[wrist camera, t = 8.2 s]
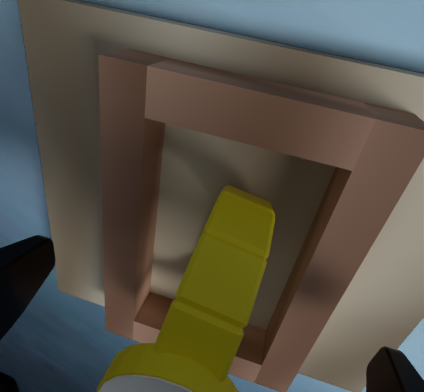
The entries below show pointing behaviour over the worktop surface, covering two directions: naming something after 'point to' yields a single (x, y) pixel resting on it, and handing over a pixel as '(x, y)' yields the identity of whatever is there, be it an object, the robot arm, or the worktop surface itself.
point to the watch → (204, 306)
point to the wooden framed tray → (231, 180)
